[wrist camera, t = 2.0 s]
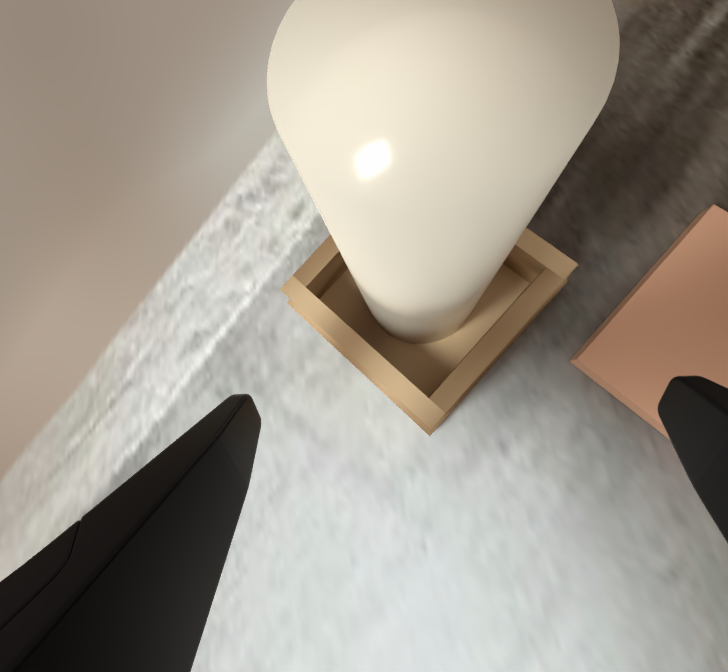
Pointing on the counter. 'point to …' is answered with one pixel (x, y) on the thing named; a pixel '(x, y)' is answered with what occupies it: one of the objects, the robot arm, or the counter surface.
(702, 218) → the tile
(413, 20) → the jug
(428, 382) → the holder
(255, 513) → the counter surface
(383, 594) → the counter surface
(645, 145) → the counter surface
